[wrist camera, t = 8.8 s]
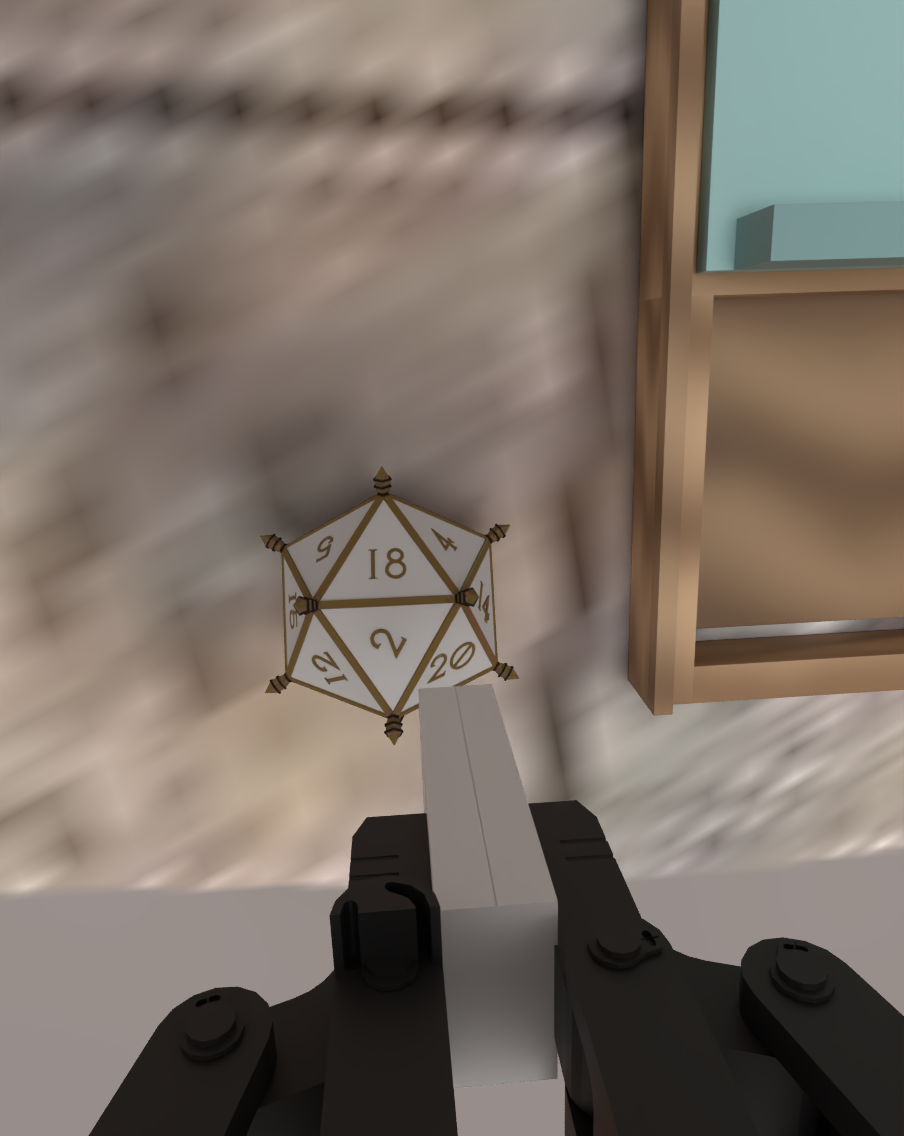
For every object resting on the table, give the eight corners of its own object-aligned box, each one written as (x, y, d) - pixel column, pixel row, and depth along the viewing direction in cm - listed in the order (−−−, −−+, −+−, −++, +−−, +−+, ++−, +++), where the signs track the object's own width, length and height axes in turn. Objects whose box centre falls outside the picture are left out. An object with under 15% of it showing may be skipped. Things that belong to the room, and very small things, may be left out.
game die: (416, 513, 33) (581, 463, 25) (426, 714, 33) (600, 729, 24) (207, 501, 28) (330, 433, 20) (213, 739, 27) (344, 769, 19)
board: (654, -240, 24) (694, -332, 21) (1115, -234, 25) (1222, -321, 22) (628, 679, 32) (653, 715, 29) (976, 658, 33) (1038, 690, 30)
